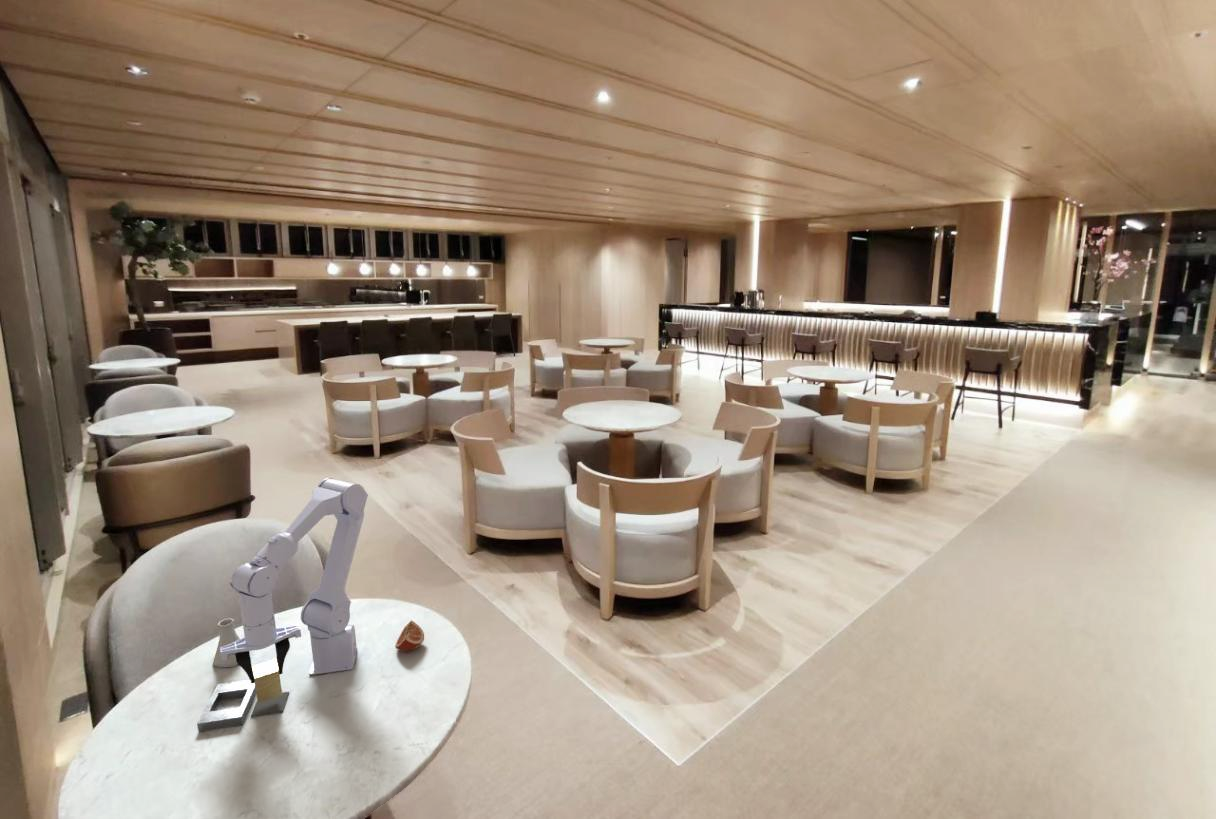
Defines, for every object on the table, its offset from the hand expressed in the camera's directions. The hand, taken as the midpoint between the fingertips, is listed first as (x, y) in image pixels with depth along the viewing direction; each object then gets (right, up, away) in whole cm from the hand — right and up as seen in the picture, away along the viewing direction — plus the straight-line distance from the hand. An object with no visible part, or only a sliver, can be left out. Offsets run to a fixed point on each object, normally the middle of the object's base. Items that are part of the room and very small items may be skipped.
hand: (266, 676), depth 129 cm
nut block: (0, -4, +1) cm, 4 cm away
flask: (-17, -3, +16) cm, 24 cm away
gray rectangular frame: (-8, -7, +1) cm, 11 cm away
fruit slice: (+23, -3, +22) cm, 32 cm away
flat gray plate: (0, -7, +2) cm, 7 cm away
